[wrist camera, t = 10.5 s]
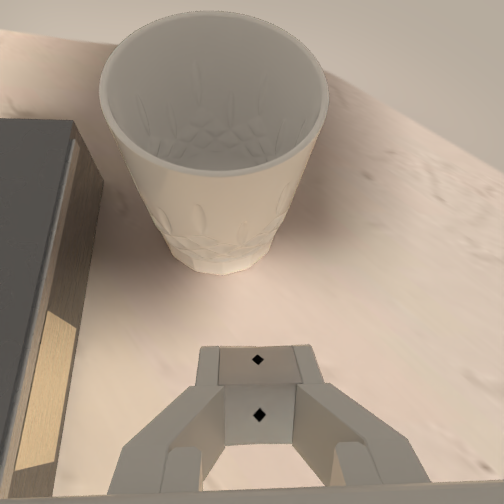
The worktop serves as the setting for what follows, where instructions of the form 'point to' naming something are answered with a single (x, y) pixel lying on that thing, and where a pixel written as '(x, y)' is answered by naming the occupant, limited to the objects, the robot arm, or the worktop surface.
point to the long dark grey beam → (41, 291)
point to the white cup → (214, 130)
